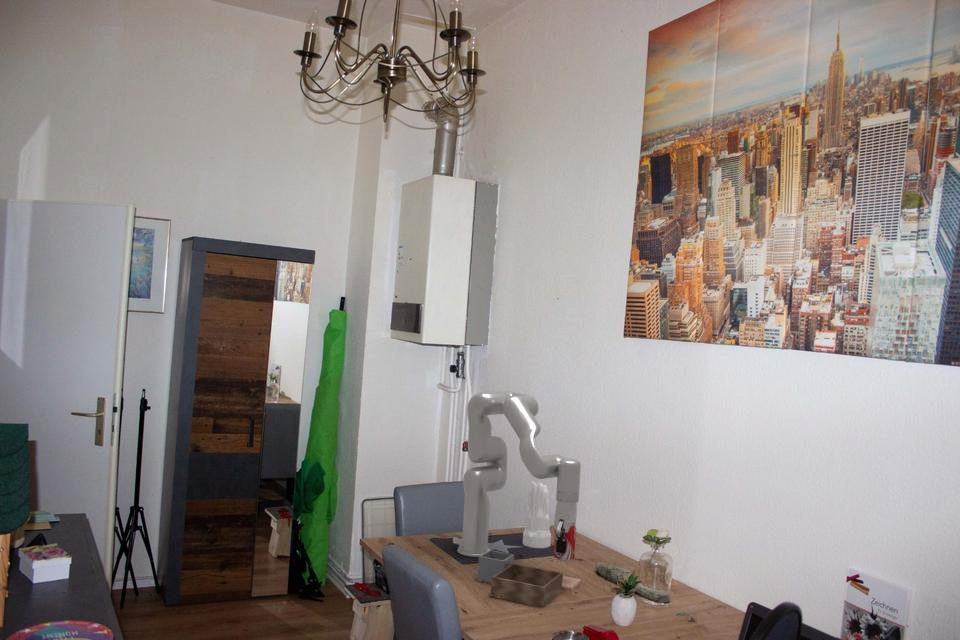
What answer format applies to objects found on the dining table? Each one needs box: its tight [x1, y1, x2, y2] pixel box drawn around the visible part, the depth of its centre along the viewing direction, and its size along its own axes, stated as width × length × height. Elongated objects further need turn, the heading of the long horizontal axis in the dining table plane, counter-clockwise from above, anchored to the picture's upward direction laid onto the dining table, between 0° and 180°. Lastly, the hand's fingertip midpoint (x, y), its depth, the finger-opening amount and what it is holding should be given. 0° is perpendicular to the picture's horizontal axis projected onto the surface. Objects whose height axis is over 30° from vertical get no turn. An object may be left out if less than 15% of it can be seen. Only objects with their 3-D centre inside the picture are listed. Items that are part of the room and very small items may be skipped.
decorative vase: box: [522, 480, 552, 549], centre depth 313 cm, size 11×11×25 cm
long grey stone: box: [595, 562, 671, 604], centre depth 269 cm, size 35×5×10 cm
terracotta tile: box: [562, 575, 582, 591], centre depth 267 cm, size 10×10×1 cm
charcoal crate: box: [477, 549, 515, 584], centre depth 267 cm, size 9×9×8 cm
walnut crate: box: [490, 562, 564, 608], centre depth 254 cm, size 17×17×6 cm
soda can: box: [553, 523, 577, 562], centre depth 267 cm, size 7×7×12 cm
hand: (564, 549), depth 267 cm, fingers closed on soda can, 7 cm apart
